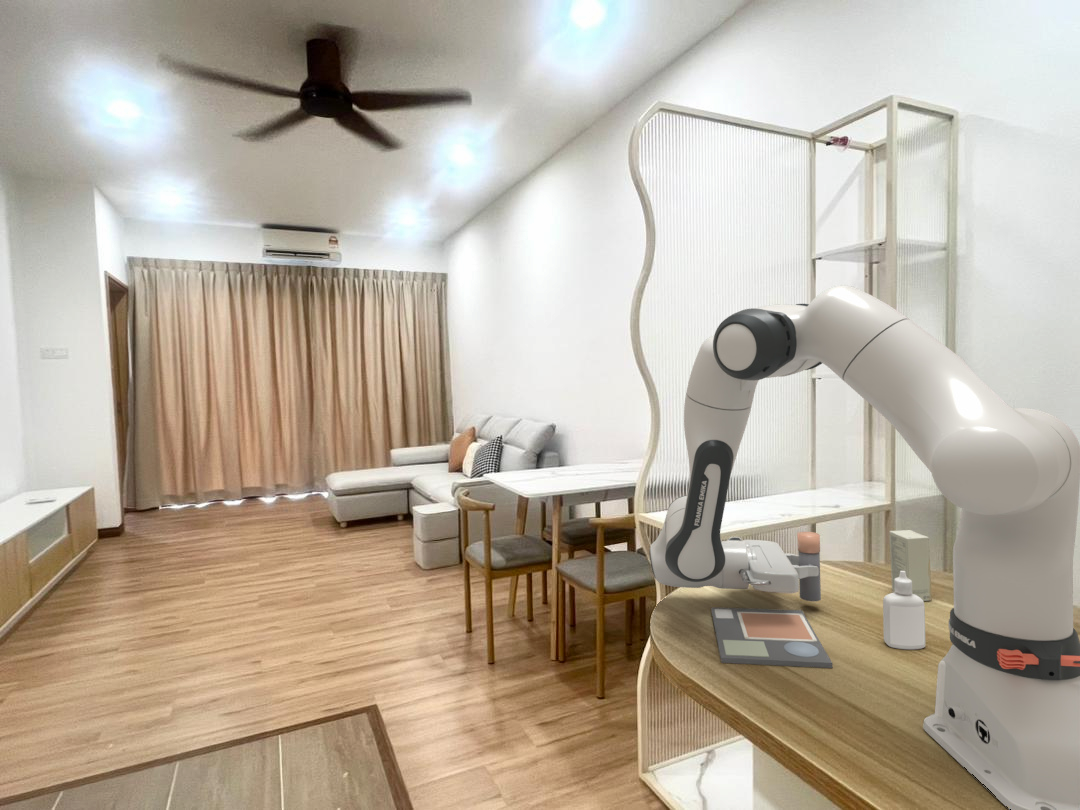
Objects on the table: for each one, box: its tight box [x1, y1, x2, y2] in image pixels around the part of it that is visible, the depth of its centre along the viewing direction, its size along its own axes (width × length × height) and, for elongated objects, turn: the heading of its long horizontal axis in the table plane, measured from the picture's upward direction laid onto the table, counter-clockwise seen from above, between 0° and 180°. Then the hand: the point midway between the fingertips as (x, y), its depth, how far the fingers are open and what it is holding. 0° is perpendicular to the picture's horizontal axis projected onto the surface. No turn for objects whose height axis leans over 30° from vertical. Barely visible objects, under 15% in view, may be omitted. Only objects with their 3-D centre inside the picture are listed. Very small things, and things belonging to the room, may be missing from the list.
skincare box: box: [889, 529, 933, 602], centre depth 114 cm, size 6×4×12 cm
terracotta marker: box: [796, 531, 822, 602], centre depth 110 cm, size 4×4×12 cm
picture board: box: [710, 607, 833, 669], centre depth 100 cm, size 20×16×1 cm
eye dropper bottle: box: [882, 571, 926, 650], centre depth 94 cm, size 4×6×12 cm
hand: (814, 565), depth 110 cm, fingers closed on terracotta marker, 4 cm apart
